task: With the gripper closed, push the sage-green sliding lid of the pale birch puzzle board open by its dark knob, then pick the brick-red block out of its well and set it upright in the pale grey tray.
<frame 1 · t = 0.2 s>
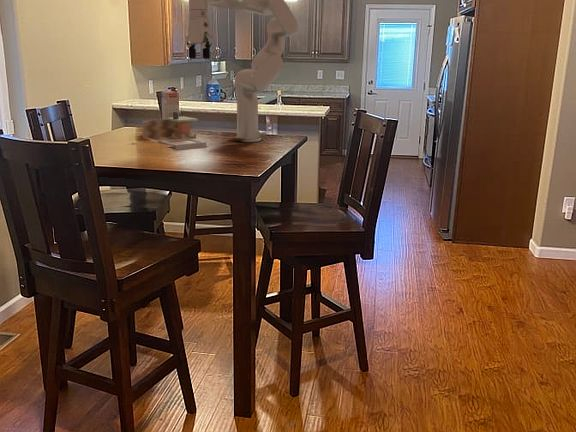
hand: (199, 58, 233), 36 cm above the table, tool pointing down, fingers open, 9 cm apart
tray: (183, 146, 237), on the table
cracker box: (171, 136, 267), on the table
lid: (181, 115, 250), point 11 cm above the table, slide at 0.0 cm
puzzle board: (172, 141, 250), on the table
block: (184, 137, 252), point 1 cm above the table, touching puzzle board
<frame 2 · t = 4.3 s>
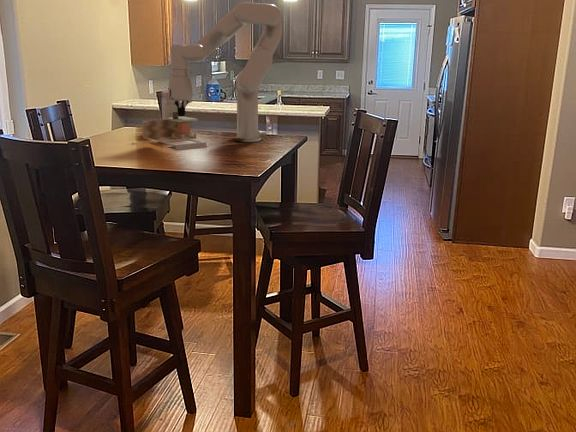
hand: (181, 116, 249), 11 cm above the table, tool pointing down, fingers closed
lid: (180, 115, 250), point 11 cm above the table, slide at 0.2 cm, touching gripper
everything else where it was.
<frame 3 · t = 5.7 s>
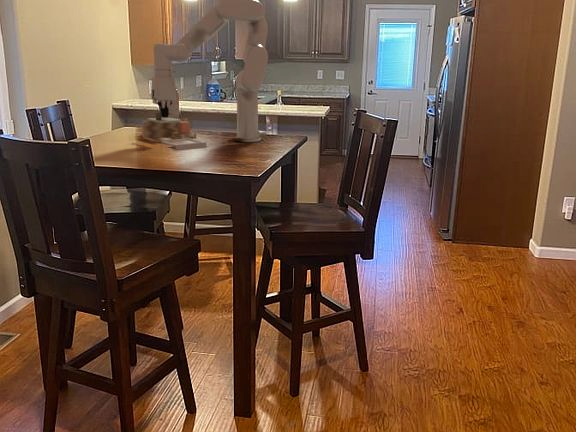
hand: (165, 117, 244), 11 cm above the table, tool pointing down, fingers closed
lid: (164, 116, 245), point 11 cm above the table, slide at 8.3 cm, touching gripper
everything else where it was.
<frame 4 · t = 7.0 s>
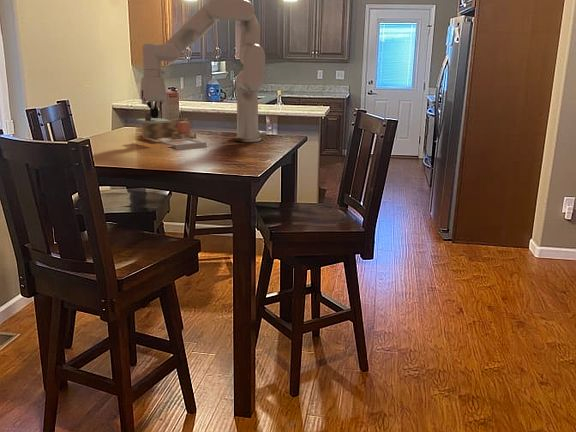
hand: (154, 117, 241), 11 cm above the table, tool pointing down, fingers closed
lid: (154, 117, 242), point 11 cm above the table, slide at 13.2 cm, touching gripper
everything else where it was.
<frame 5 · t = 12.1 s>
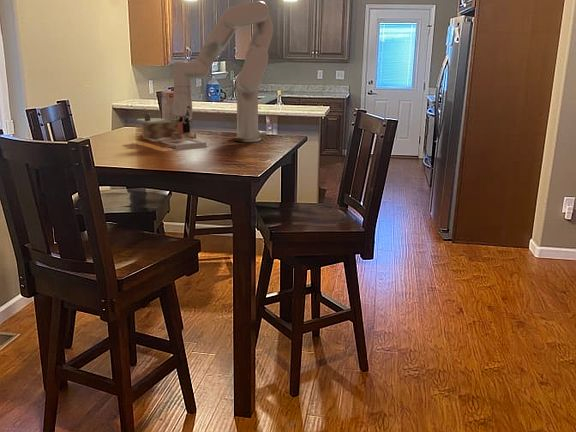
hand: (183, 131, 251), 4 cm above the table, tool pointing down, fingers closed on block, 4 cm apart
lid: (153, 117, 242), point 11 cm above the table, slide at 13.4 cm
block: (184, 137, 252), point 2 cm above the table, touching gripper, puzzle board
everything else where it was.
when the fingers open (5 cm above the table, at t = 18.5 s): block drops 2 cm, resting on tray.
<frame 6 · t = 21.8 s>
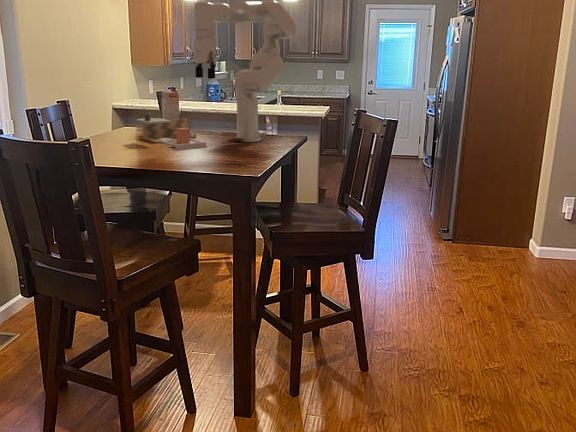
hand: (205, 78, 231), 28 cm above the table, tool pointing down, fingers open, 9 cm apart
block: (183, 145, 237), point 1 cm above the table, touching tray
everything else where it was.
at the end: lid slide at 13.4 cm; block inside the target area on the tray (0.1 cm from its centre), point 0.6 cm above the tray's base; block tilted 0° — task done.
